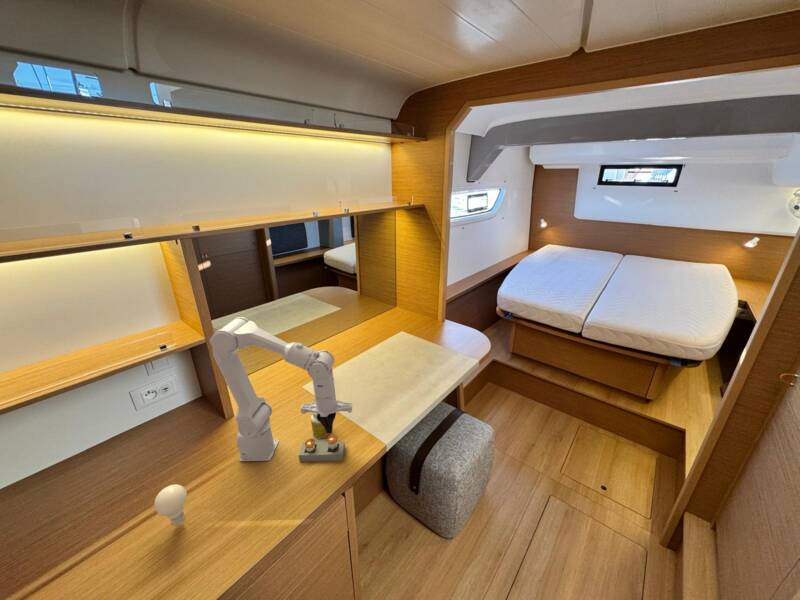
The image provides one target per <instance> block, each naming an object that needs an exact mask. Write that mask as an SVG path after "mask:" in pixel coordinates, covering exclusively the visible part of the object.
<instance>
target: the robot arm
mask: <svg viewBox="0 0 800 600" xmlns="http://www.w3.org/2000/svg"><path fill="white" fill-rule="evenodd" d="M209 344H210V345H211V347H212V356H213V358H214V361H215V362H216V364H217V367H218V369H219V370H220V373H221V374H222V376H223V378H224V381H225V383H226V385H227V386H228V388H229V390H230V393H231V395H232V397H233V399H234V400H235V403H236V405H237V412H236V415H235V421H236V422H237V431H238V432H237V434H236V444H237V448H238V452H239V457H240V458H239V462H260V461H261V462H262V461H265V462H266V461H267V462H268V461H271V460H272V458H273V456H274V454H275V451H276V449H277V447H278V445H279V442H280V440H279V439H274V437H273V433H272V428H271V427H272V426H271V423H270V422H271V419H270V417H271V415H272V413H273V409H272V405H270V404H269V403H268V402H267V401H266V399H265V398H264V396H258V395H257V392H256V391H255V389H254V387H253V385H252V383H251V380H250V378H249V376H248V374H247V372H246V370H245V368H244V365H243V364H242V361H241V359H240V356H239V355H238V350H242V349H243V350H244V349H245V348H248V347H252V346H256V347H259V348H261V349H265V350H266V351H270V352H272V353H276V354H279V355H281V356H282V358H283V360H284V362H287V363H288V364H291V365H292V366H293V365H294V366H295V367H296V368H297V367H298V368H300V369H302V370H304V371H306V372H307V374H308V376H309V377H310V378H311V379H312V385H313V392H314V400H315V401H313V402H309V403H303V404H301V407H300V412H301V415H304V414H306V413H312V412H313V413H317V420H318V421H319V422H320V423H321V424H322V425H323V426H324V428H325V430H326V432H327V433H328V434H332V433H333V425H334V421H335V418H336V415H337V413H338V412H339V413H340V412H347V413H350V414H351V413H352V411H353V403H352V402H346V401H341V400H337V397H336V395H337V394H336V388H335V379H334V370H333V366H335V365H334V364H335V357H334V355H333V354H332V353H331V352H329V351H328V350H315V349H313V348H310V347H307V346H305V345H304V344H303V343H301V342H296V341H293V342H289V343H288V342H286V341H284V340H283V339H281V338H279V337H277V336H275V335H273V334H271V333H269V332H267V331H266V330H264V329H263V328H262V329H261V328H260V327H258V325H257V323H256V322H254V321H252V320H249V319H248V318H246V317H243V316H238V317H235V318H233V320H231V321H230V322H229V323H226V325H224V326H223V327H222V328H220V329H218V330H216V331H215V332H214V333H213V334H212V336H211V337H210V339H209Z"/></svg>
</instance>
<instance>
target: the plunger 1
mask: <svg viewBox="0 0 800 600" xmlns="http://www.w3.org/2000/svg"><path fill="white" fill-rule="evenodd" d="M315 440H316V439H313V438H308V439H306V440H305V441H304V443H305V447H306V451H307V453H315Z"/></svg>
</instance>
